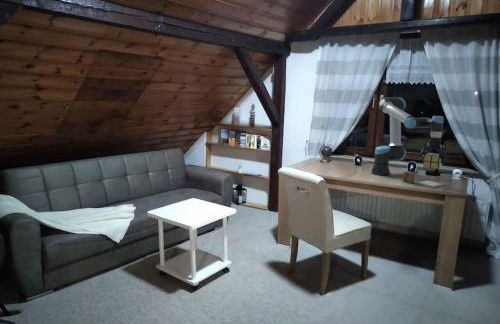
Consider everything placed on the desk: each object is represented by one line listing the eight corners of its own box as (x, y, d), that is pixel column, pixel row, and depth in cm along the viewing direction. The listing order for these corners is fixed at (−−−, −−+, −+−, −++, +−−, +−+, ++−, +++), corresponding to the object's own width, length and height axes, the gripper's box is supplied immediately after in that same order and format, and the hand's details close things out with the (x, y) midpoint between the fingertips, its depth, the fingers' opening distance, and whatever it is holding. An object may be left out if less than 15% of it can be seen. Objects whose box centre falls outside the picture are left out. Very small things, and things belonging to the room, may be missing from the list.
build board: (416, 183, 272) (416, 182, 272) (426, 181, 279) (427, 180, 279) (433, 188, 260) (433, 186, 260) (444, 185, 268) (444, 184, 268)
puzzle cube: (427, 165, 274) (428, 152, 272) (441, 167, 268) (442, 154, 266) (423, 167, 267) (424, 154, 265) (437, 169, 260) (439, 156, 258)
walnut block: (402, 181, 278) (403, 171, 276) (407, 180, 281) (408, 171, 279) (409, 183, 273) (410, 173, 271) (414, 182, 276) (415, 172, 274)
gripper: (417, 135, 271) (415, 163, 275) (448, 139, 251) (445, 169, 255) (423, 135, 274) (420, 162, 279) (454, 138, 255) (450, 168, 259)
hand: (432, 165), depth 267 cm, fingers closed on puzzle cube, 11 cm apart
